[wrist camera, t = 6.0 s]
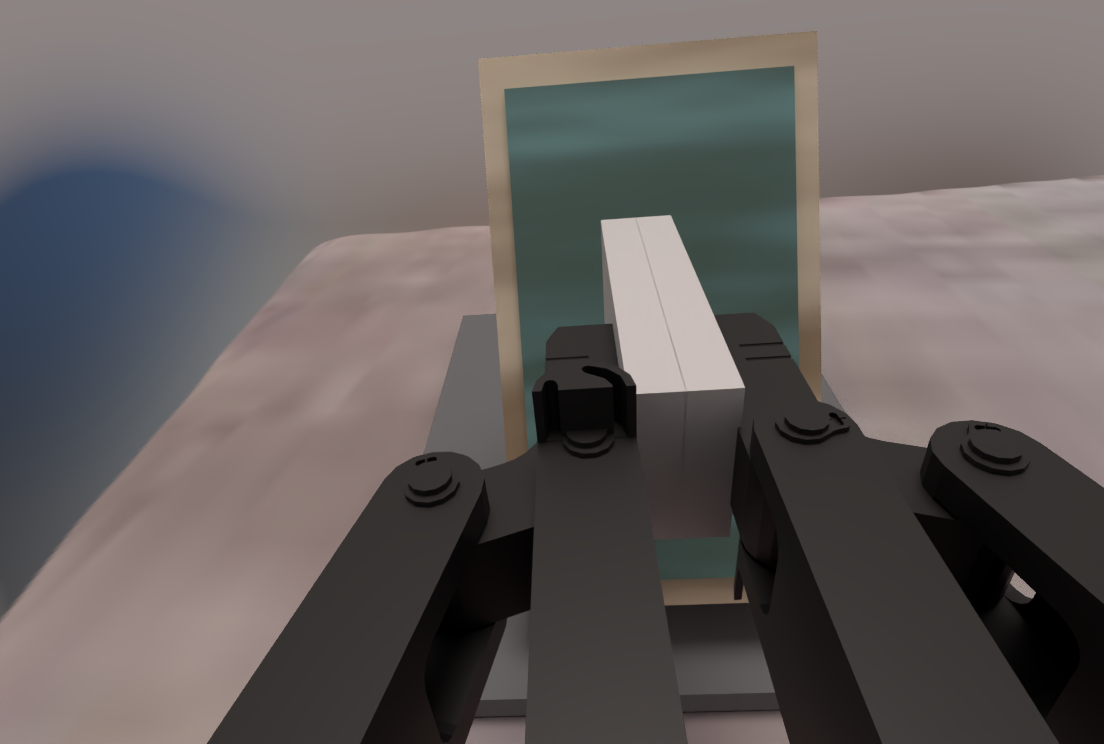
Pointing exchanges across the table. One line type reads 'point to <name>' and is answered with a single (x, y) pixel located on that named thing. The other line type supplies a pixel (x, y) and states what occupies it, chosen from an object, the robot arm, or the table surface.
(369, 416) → the table surface
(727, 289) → the block
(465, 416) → the mat
